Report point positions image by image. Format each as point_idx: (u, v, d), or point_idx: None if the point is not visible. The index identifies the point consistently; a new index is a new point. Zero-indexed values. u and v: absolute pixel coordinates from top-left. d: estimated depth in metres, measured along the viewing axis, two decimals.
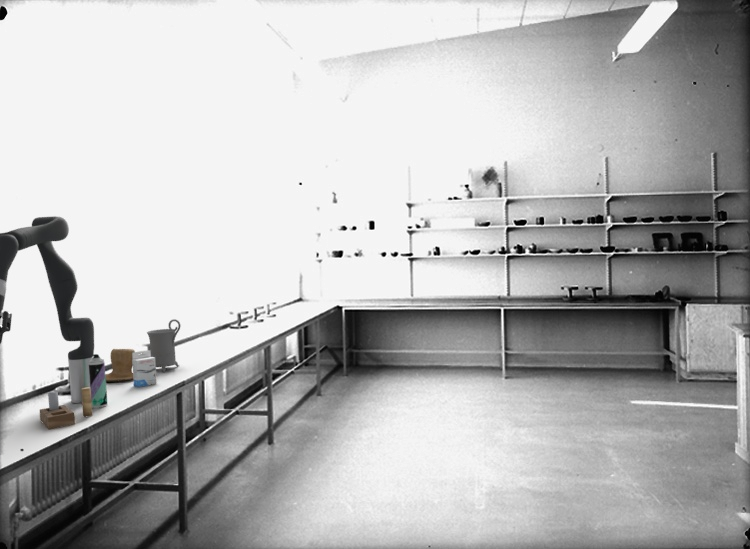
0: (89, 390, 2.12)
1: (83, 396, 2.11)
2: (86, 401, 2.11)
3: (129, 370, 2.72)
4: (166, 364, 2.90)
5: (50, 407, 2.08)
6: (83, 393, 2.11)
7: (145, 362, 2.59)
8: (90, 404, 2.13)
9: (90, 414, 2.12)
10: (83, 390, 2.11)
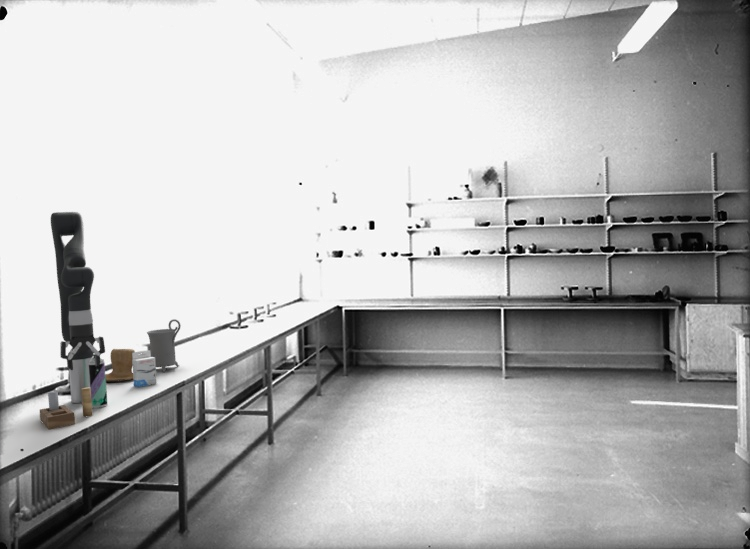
0: (89, 390, 2.12)
1: (83, 396, 2.11)
2: (86, 401, 2.11)
3: (129, 370, 2.72)
4: (166, 364, 2.90)
5: (50, 407, 2.08)
6: (83, 393, 2.11)
7: (145, 362, 2.59)
8: (90, 404, 2.13)
9: (90, 414, 2.12)
10: (83, 390, 2.11)
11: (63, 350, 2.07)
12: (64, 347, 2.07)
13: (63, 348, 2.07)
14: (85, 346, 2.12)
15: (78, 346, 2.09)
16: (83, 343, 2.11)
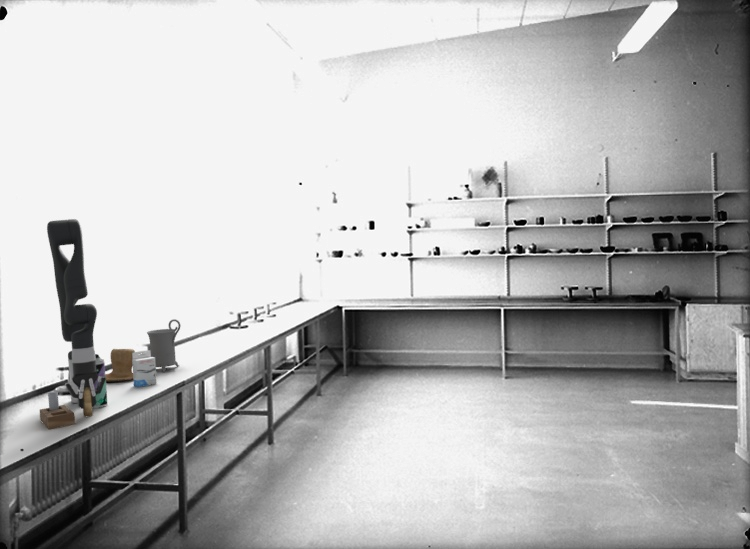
0: (89, 390, 2.12)
1: (83, 396, 2.11)
2: (86, 401, 2.12)
3: (129, 370, 2.72)
4: (166, 364, 2.90)
5: (50, 407, 2.08)
6: (83, 393, 2.11)
7: (145, 362, 2.59)
8: (90, 404, 2.13)
9: (90, 414, 2.12)
10: None
11: (71, 391, 2.09)
12: (70, 388, 2.08)
13: (70, 389, 2.08)
14: (86, 382, 2.12)
15: (82, 383, 2.10)
16: (86, 380, 2.12)
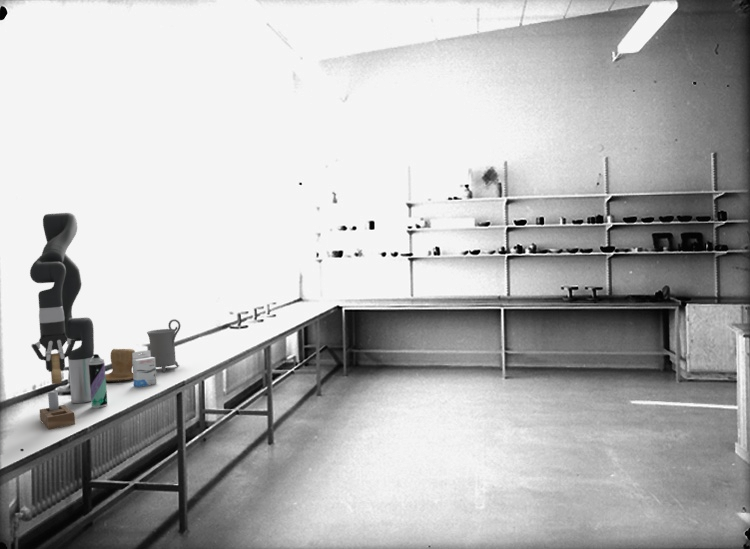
0: (58, 356, 2.02)
1: (51, 362, 2.01)
2: (55, 368, 2.01)
3: (129, 370, 2.72)
4: (166, 364, 2.90)
5: (50, 407, 2.08)
6: (51, 359, 2.01)
7: (145, 362, 2.59)
8: (59, 370, 2.02)
9: (59, 381, 2.02)
10: (51, 355, 2.01)
11: (38, 352, 1.98)
12: (37, 349, 1.98)
13: (37, 350, 1.98)
14: (54, 344, 2.01)
15: (50, 345, 2.00)
16: (54, 341, 2.01)
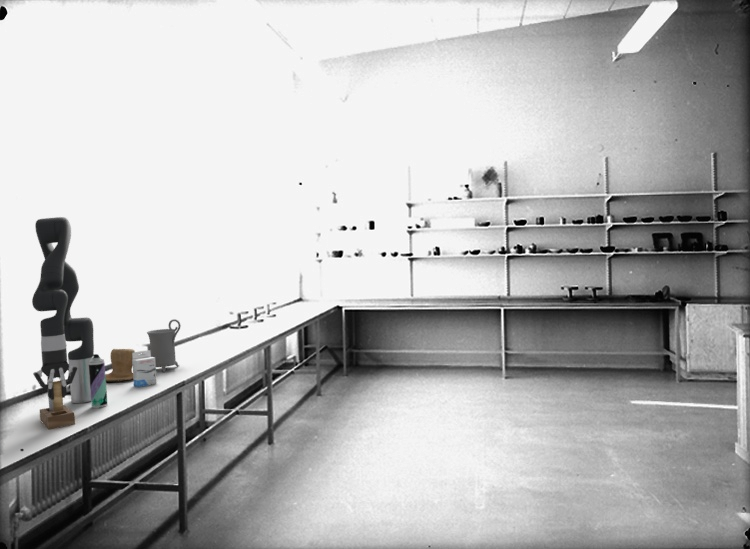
0: (60, 383, 2.02)
1: (53, 390, 2.01)
2: (56, 395, 2.01)
3: (129, 370, 2.72)
4: (166, 364, 2.90)
5: (50, 407, 2.08)
6: (53, 387, 2.01)
7: (145, 362, 2.59)
8: (61, 398, 2.02)
9: (61, 409, 2.02)
10: (53, 383, 2.01)
11: (40, 380, 1.98)
12: (39, 377, 1.98)
13: (38, 379, 1.98)
14: (56, 372, 2.02)
15: (52, 373, 2.00)
16: (56, 369, 2.02)
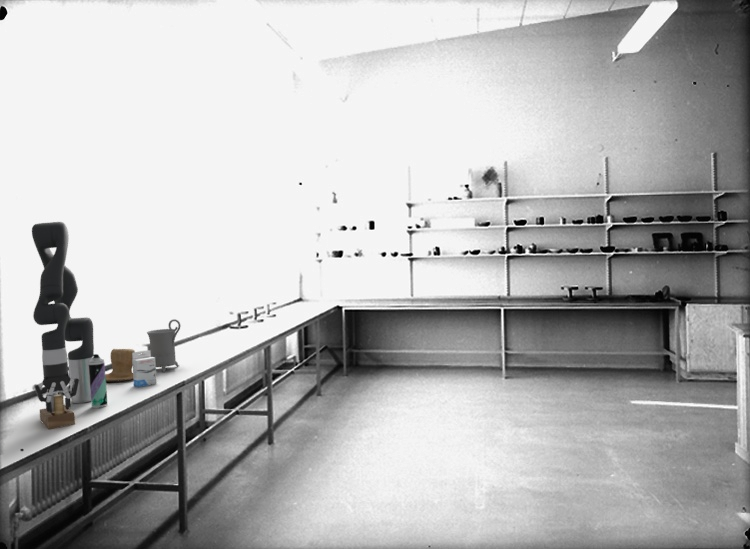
0: (62, 397, 2.03)
1: (55, 404, 2.02)
2: (58, 410, 2.02)
3: (129, 370, 2.72)
4: (166, 364, 2.90)
5: None
6: (55, 401, 2.02)
7: (145, 362, 2.59)
8: (62, 412, 2.03)
9: None
10: (55, 397, 2.02)
11: (39, 393, 1.98)
12: (39, 390, 1.98)
13: (38, 391, 1.98)
14: (58, 385, 2.02)
15: (53, 386, 2.00)
16: (57, 383, 2.02)
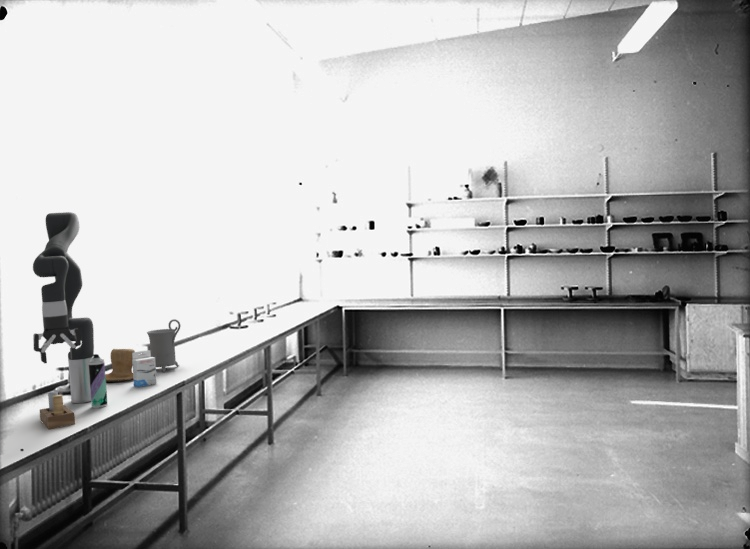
0: (61, 398, 2.03)
1: (54, 404, 2.01)
2: (58, 410, 2.02)
3: (129, 370, 2.72)
4: (166, 364, 2.90)
5: (50, 407, 2.08)
6: (54, 401, 2.01)
7: (145, 362, 2.59)
8: (62, 412, 2.03)
9: None
10: (54, 398, 2.01)
11: (36, 343, 1.99)
12: (37, 339, 1.99)
13: (36, 340, 1.99)
14: (59, 338, 2.03)
15: (52, 338, 2.01)
16: (57, 335, 2.03)
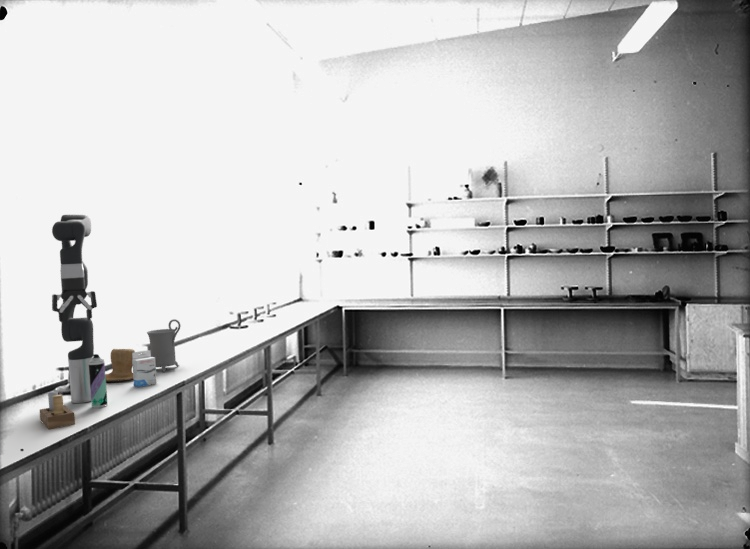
0: (61, 398, 2.03)
1: (55, 404, 2.02)
2: (58, 410, 2.02)
3: (129, 370, 2.72)
4: (166, 364, 2.90)
5: (50, 407, 2.08)
6: (55, 401, 2.01)
7: (145, 362, 2.59)
8: (62, 412, 2.03)
9: None
10: (55, 398, 2.01)
11: (55, 303, 2.08)
12: (56, 300, 2.08)
13: (55, 301, 2.08)
14: (77, 300, 2.13)
15: (70, 299, 2.10)
16: (75, 297, 2.12)
